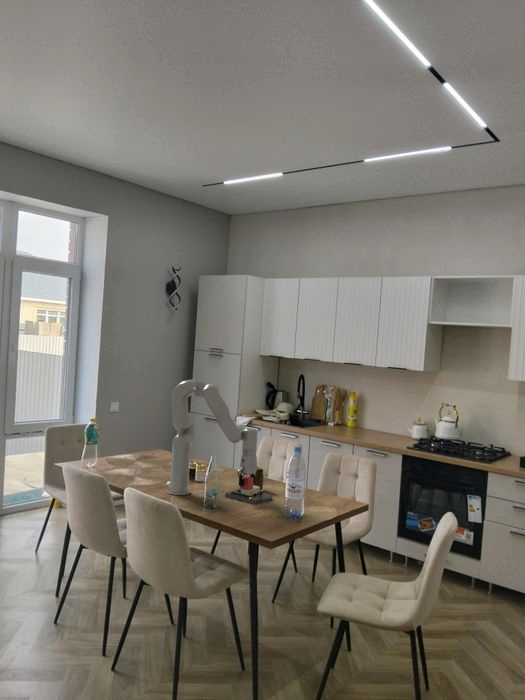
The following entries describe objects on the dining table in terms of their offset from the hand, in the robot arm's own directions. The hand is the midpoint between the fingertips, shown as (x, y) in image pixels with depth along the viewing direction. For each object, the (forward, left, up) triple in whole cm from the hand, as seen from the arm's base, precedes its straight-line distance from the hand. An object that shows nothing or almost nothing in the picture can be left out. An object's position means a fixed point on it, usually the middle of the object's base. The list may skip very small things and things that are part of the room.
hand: (246, 484), depth 297 cm
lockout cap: (0, 0, -2) cm, 2 cm away
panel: (0, +2, -7) cm, 8 cm away
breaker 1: (+1, 0, -5) cm, 5 cm away
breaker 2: (+1, +6, -5) cm, 8 cm away
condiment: (-6, +20, -8) cm, 22 cm away
